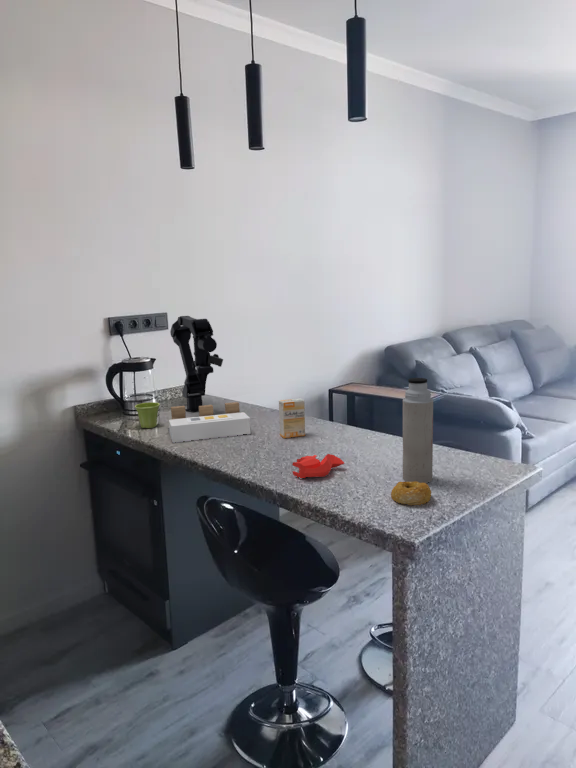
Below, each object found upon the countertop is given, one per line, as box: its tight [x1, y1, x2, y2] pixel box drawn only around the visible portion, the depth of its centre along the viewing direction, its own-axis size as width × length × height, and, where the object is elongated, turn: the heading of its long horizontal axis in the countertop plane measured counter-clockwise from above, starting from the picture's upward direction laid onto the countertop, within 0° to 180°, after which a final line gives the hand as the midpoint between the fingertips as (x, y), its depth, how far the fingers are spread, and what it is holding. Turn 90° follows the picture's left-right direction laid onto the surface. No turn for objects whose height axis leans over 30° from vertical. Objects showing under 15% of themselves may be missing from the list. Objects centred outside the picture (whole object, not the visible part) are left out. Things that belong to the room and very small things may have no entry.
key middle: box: [198, 404, 214, 417], centre depth 216 cm, size 2×5×8 cm, turn 107°
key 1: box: [170, 405, 187, 420], centre depth 216 cm, size 2×5×8 cm, turn 107°
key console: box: [167, 411, 252, 444], centre depth 213 cm, size 18×28×6 cm, turn 107°
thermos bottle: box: [402, 377, 434, 484], centre depth 155 cm, size 8×8×28 cm
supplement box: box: [278, 397, 306, 439], centre depth 204 cm, size 8×5×13 cm, turn 109°
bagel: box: [390, 481, 432, 506], centre depth 144 cm, size 10×11×5 cm
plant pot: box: [134, 401, 161, 429], centre depth 224 cm, size 9×9×9 cm
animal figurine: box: [292, 453, 346, 479], centre depth 166 cm, size 12×15×5 cm
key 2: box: [224, 401, 240, 414], centre depth 219 cm, size 2×5×8 cm, turn 107°
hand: (203, 387), depth 237 cm, fingers closed
